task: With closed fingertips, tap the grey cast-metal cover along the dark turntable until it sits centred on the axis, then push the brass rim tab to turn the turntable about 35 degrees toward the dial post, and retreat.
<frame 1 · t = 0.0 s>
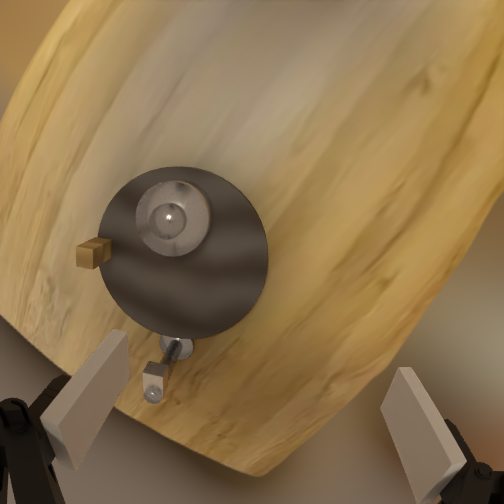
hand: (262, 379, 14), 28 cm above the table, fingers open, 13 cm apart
cover: (180, 214, 37), point 3 cm above the table, touching turntable
turntable: (171, 262, 37), point 5 cm above the table, hinge at 0.0°, touching cover
dial post: (177, 343, 45), on the table
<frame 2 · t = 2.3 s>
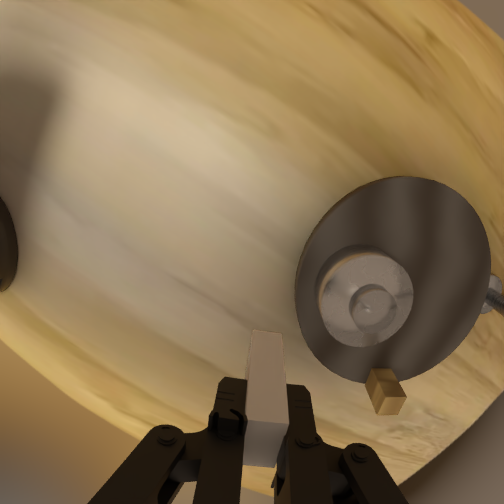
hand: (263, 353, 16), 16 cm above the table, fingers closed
cover: (356, 286, 28), point 3 cm above the table, touching turntable
turntable: (413, 300, 27), point 5 cm above the table, hinge at 0.0°, touching cover
dial post: (485, 292, 32), on the table
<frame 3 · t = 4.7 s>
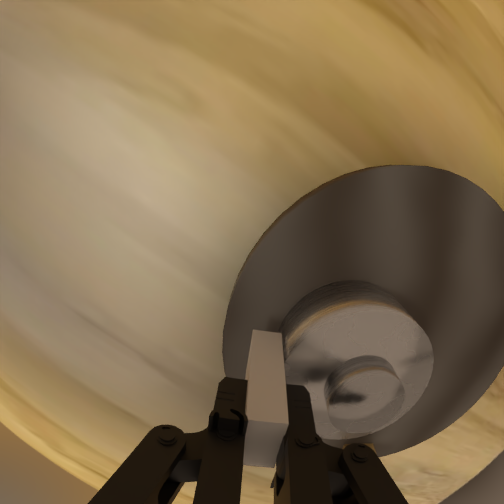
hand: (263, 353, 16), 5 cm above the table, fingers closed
cover: (343, 344, 18), point 4 cm above the table
turntable: (409, 363, 16), point 5 cm above the table, hinge at 0.0°
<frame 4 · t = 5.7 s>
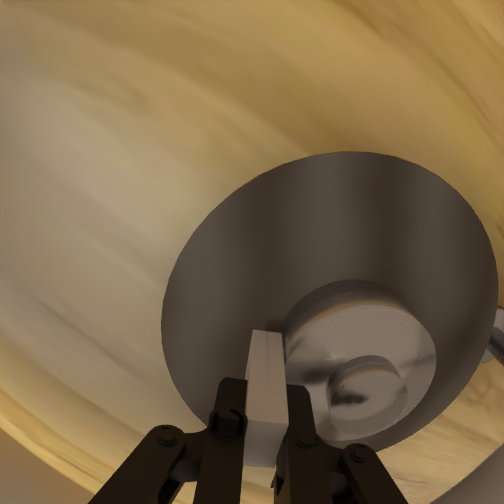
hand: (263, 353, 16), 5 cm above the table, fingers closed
cover: (345, 344, 18), point 3 cm above the table, touching gripper, turntable
turntable: (355, 364, 16), point 5 cm above the table, hinge at 0.0°, touching cover
dial post: (486, 333, 21), on the table
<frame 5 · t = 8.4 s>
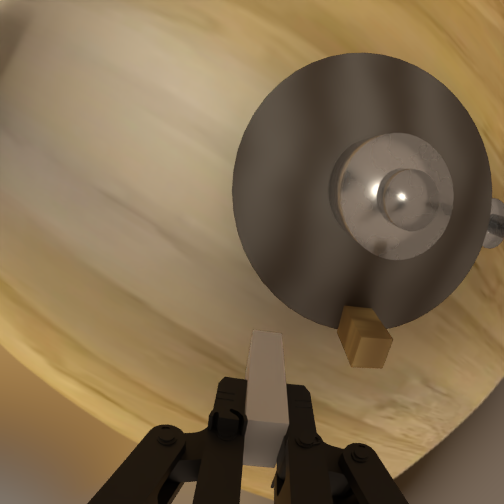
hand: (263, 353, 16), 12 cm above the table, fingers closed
cover: (380, 191, 22), point 3 cm above the table, touching turntable
turntable: (391, 200, 21), point 5 cm above the table, hinge at 0.0°, touching cover
dial post: (488, 222, 26), on the table
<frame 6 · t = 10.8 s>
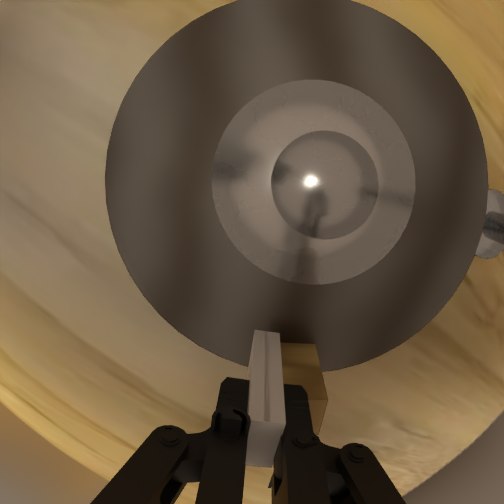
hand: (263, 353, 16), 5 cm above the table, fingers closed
cover: (306, 178, 16), point 3 cm above the table, touching turntable
turntable: (316, 189, 14), point 5 cm above the table, hinge at 4.5°, touching cover, gripper
dial post: (485, 222, 19), on the table
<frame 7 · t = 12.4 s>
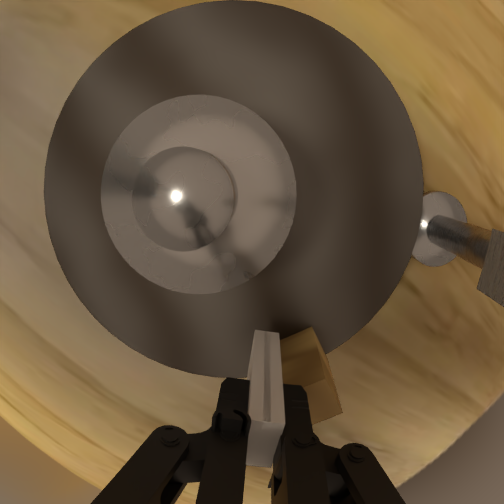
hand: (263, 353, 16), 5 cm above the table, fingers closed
cover: (209, 190, 16), point 3 cm above the table, touching turntable
turntable: (213, 196, 15), point 5 cm above the table, hinge at 35.6°, touching cover, gripper
dial post: (433, 227, 19), on the table
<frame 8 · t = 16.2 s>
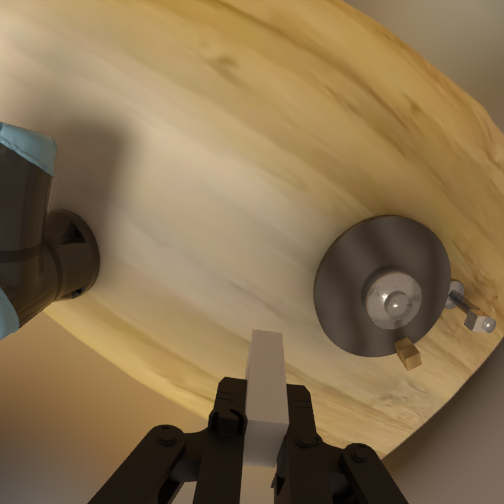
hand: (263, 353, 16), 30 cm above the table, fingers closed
cover: (386, 292, 44), point 3 cm above the table, touching turntable
turntable: (392, 297, 42), point 5 cm above the table, hinge at 32.1°, touching cover
dial post: (450, 293, 47), on the table
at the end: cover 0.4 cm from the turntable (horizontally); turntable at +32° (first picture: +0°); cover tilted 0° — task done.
